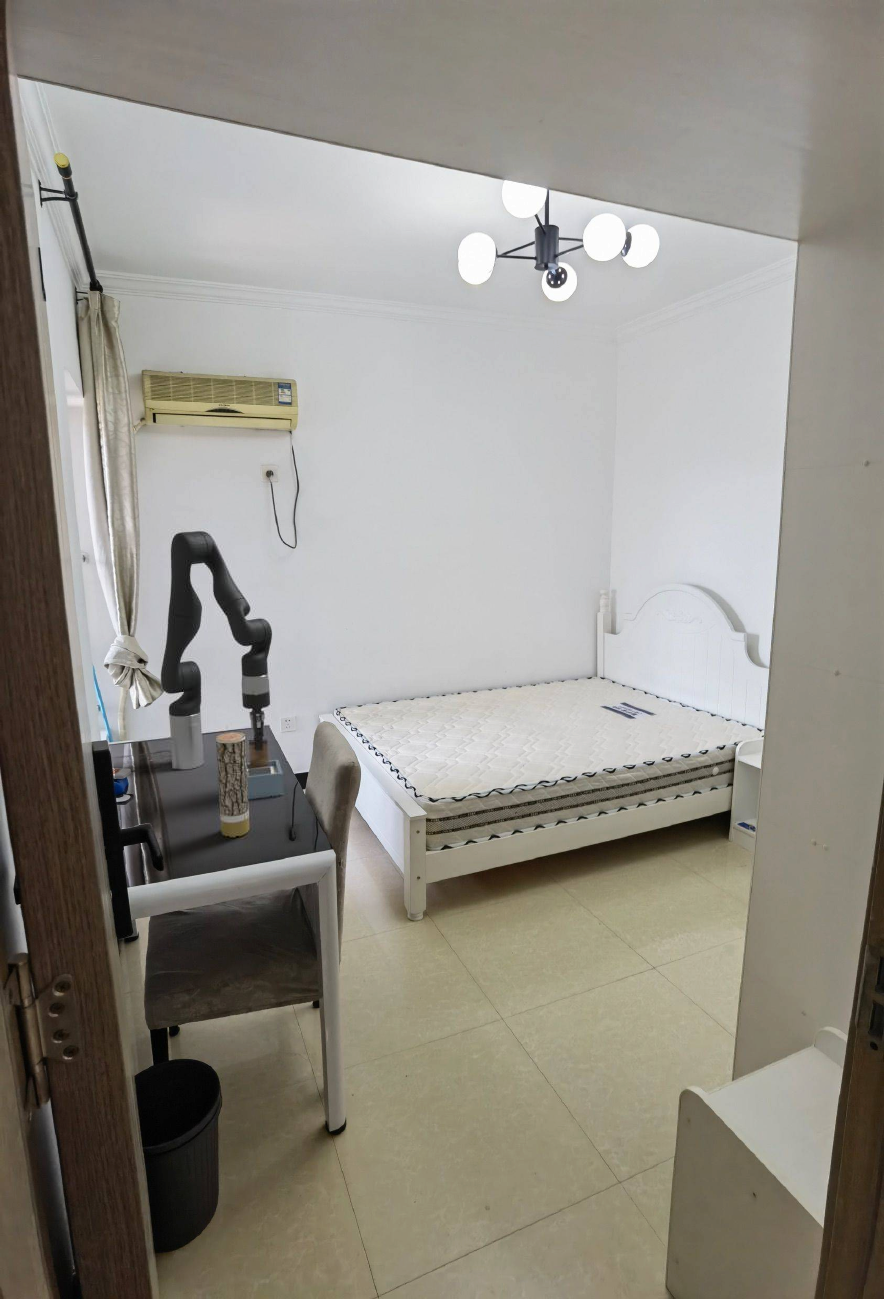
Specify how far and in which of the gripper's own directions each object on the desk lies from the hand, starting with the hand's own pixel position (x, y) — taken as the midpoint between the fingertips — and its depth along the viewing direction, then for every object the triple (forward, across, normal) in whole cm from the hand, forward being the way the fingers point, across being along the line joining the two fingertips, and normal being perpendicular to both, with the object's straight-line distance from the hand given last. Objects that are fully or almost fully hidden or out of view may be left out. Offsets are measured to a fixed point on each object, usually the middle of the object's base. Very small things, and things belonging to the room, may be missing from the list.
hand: (258, 748), depth 195 cm
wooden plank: (+8, 0, 0) cm, 8 cm away
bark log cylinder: (+13, +26, -8) cm, 30 cm away
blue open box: (+13, 0, 0) cm, 13 cm away
